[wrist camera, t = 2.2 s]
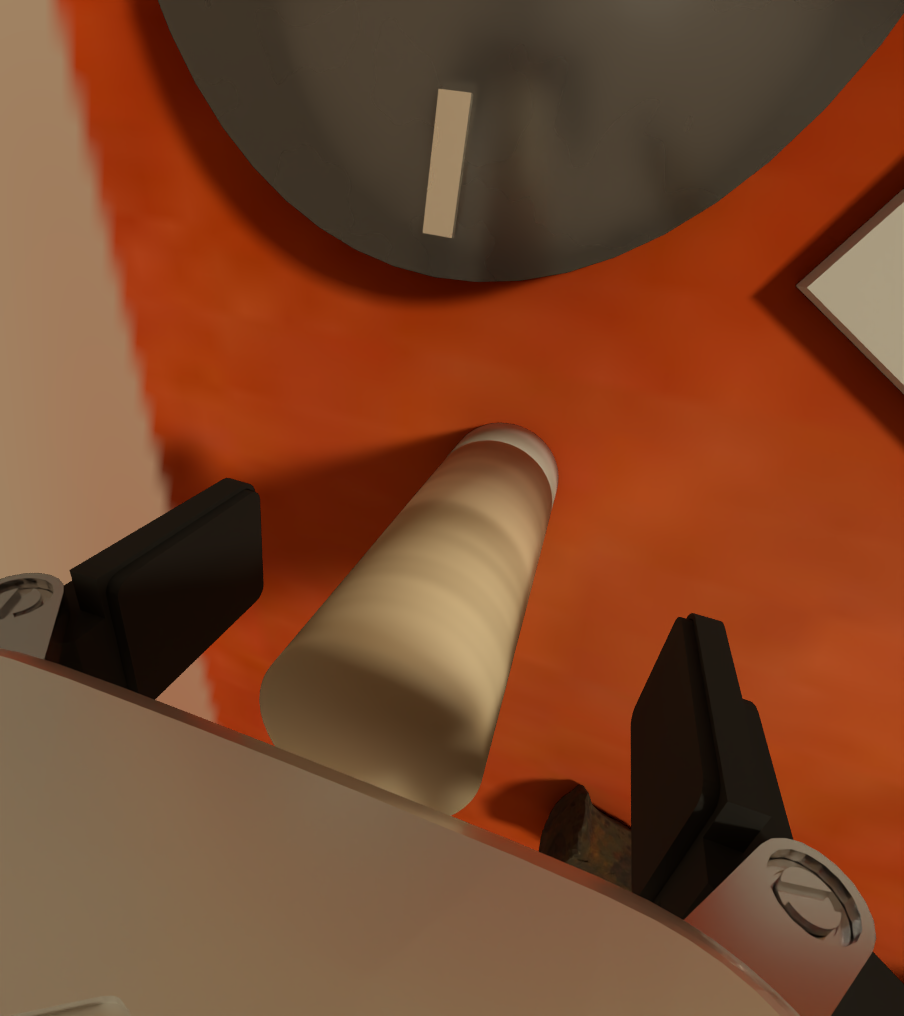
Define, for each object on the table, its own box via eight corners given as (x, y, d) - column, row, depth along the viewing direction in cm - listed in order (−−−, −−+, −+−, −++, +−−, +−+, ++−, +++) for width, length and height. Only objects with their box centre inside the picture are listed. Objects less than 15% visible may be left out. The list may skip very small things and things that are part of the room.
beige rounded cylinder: (507, 544, 20) (390, 848, 10) (429, 475, 20) (224, 716, 10) (582, 476, 18) (536, 768, 8) (497, 399, 18) (332, 597, 8)
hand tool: (535, 808, 27) (521, 907, 23) (580, 770, 25) (573, 871, 21) (854, 1007, 26) (897, 1143, 22) (926, 985, 24) (987, 1130, 20)
